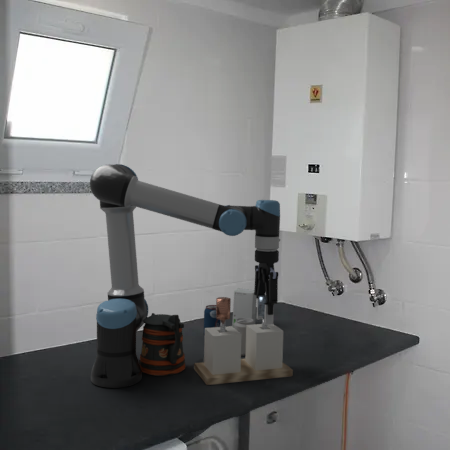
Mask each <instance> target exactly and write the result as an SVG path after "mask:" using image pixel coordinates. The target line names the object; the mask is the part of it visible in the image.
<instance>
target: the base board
mask: <svg viewBox="0 0 450 450" xmlns="http://www.w3.org/2000/svg"><path fill="white" fill-rule="evenodd" d="M193 366H194V367H193V369H194V371H195V372H196V373H197V374H198V376H199V377H200V378H201V380H202V381H203V382H204V384H205V385H206V386H210V385H211V386H212V385H222V384H229V383H238V382H239V383H240V382H249V381H259V380H267V379H269V380H270V379H278V378H279V379H280V378H287V377H293V374H294V373H293V372H294V370H293V369H292V367H290V366H289V365H287V364H286V363H284V362H283V361H282V368H277V369H267V370H257V371H256V370H254V369H253V368H252V367H251V366H250V365H249V364H248V363H247V362H246V361H245V358H241V372H236V373H226V374H216V375H212V374H211V372H210V371H209V370H208V369H207V368H206V367H205V366H204V361H202V362H194V364H193Z"/></svg>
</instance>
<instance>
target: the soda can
mask: <svg viewBox="0 0 450 450" xmlns="http://www.w3.org/2000/svg"><path fill="white" fill-rule="evenodd" d="M213 327H220V319H217V318H216V304H209V305H208V304H207V305H206V306H205V308H204V311H203V336H204V337H205V328H213Z"/></svg>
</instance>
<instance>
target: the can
mask: <svg viewBox="0 0 450 450" xmlns="http://www.w3.org/2000/svg"><path fill="white" fill-rule="evenodd" d="M255 324H256V323H255ZM255 324H254V322H253V319H250V318H238V319H236V322H235V323H234V328H235V329H236V330H237V331H238V332H240V333H241V357H246V325H255Z"/></svg>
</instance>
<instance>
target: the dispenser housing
mask: <svg viewBox="0 0 450 450" xmlns="http://www.w3.org/2000/svg"><path fill="white" fill-rule="evenodd" d="M203 343H204V344H203V345H204V346H203V347H204V351H203V355H204V357H203V362H204V366H205V367H206V368H207V369H208V370H209V371H210V372H211V374H212V375H216V374H226V373H236V372H241V359H242V356H241V333H240V332H238V331H237V330H236V329H235V328H233V327H232V325H230V326H225V332H223V333H220V327H213V328H205V336H204V342H203ZM283 353H284V330H283V329H282V328H280V327H279V326H278V325H275V324H274V323H273V324H272V325H267V329H262V323H257V324H256V323H255V325H246V356H244V359H245V361H246V362H247V363H248V364H249V365H250V366H251V367H252V368H253V369H254V370H256V371H257V370H267V369H277V368H282V362H283V360H284V359H283V355H284V354H283Z"/></svg>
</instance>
